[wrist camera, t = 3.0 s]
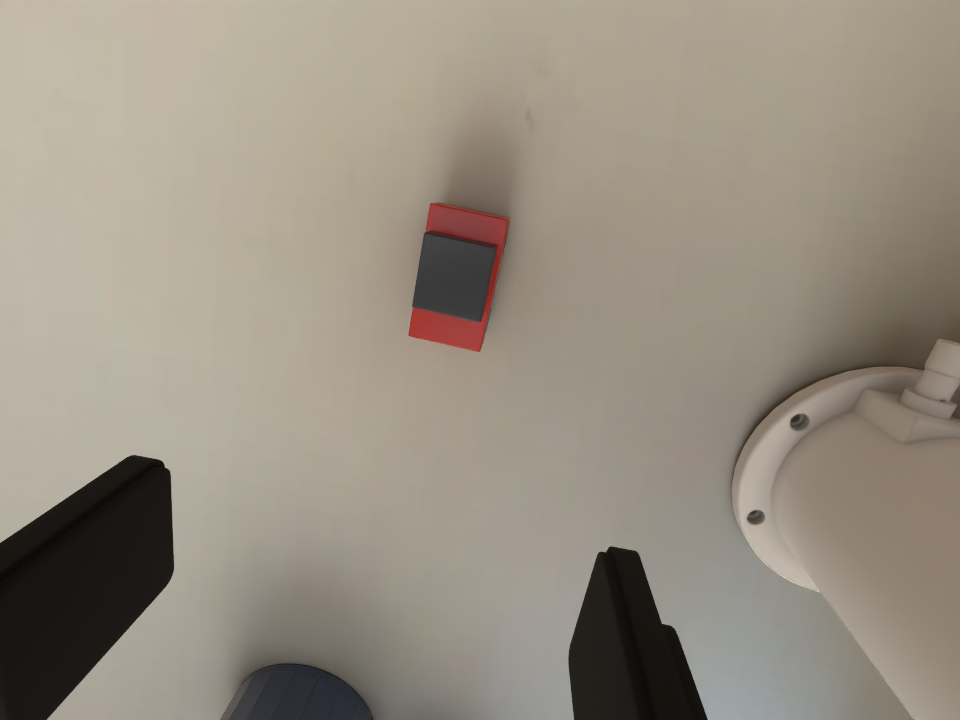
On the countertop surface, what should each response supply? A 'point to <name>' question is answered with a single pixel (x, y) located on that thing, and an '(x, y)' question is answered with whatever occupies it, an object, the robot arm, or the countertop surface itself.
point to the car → (457, 275)
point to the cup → (295, 696)
